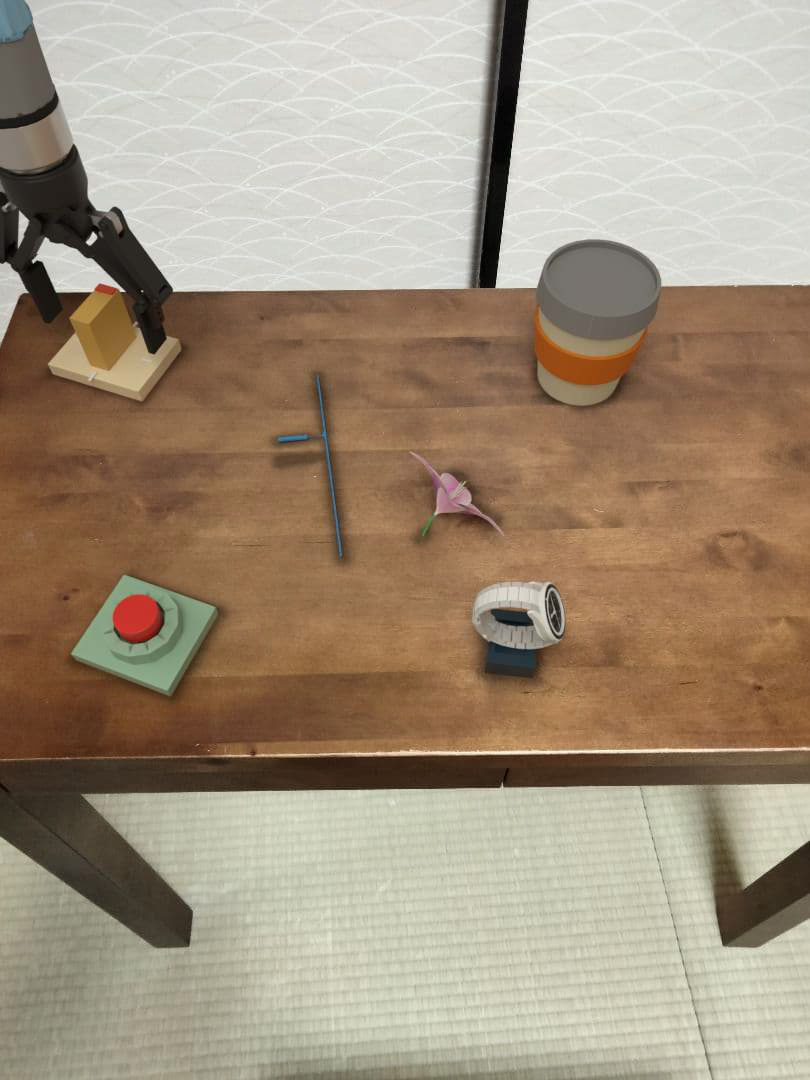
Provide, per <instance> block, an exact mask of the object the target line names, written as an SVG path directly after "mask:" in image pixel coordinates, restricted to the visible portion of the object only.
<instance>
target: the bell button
mask: <svg viewBox="0 0 810 1080" xmlns="http://www.w3.org/2000/svg"><path fill="white" fill-rule="evenodd" d="M112 619H113V624H114V626H115V627H116V629H117V630H118V632H119V634H120V635H121V636H122V637H123V638H124V639H125V640H127V641H130V642H143V641H146V640H149V639H150V638H152V637H153V636H155V635H156V634H157V632H158V631H159V630H160V628H161V625H162V621H163V618H162V614H161V611H160V609H159V608H158V606H157V604H156V602H155V601H154V600H153V599H152V598H151V597H149V596H146V595H141V594H138V595H132V596H129V597H127V598H125V599H123V600H122V601H121V602H120V603H119V604H118V605H117V606H116V608H115V609H114V612H113V617H112Z"/></svg>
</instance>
